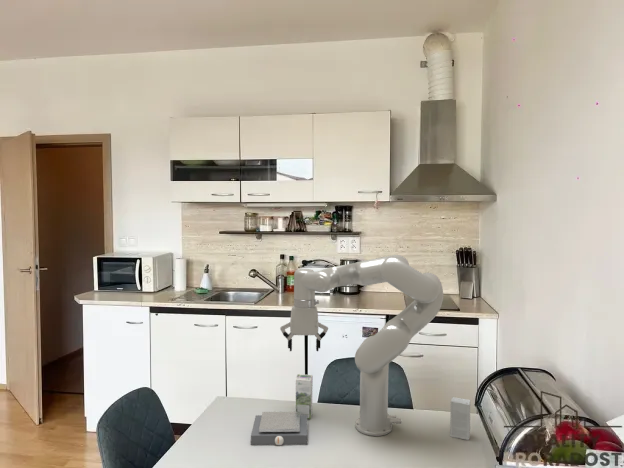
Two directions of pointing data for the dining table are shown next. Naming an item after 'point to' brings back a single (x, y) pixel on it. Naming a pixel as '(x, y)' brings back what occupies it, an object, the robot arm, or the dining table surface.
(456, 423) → the skincare box
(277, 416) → the pan
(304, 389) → the syrup box
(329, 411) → the dining table surface
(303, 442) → the base
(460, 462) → the dining table surface
